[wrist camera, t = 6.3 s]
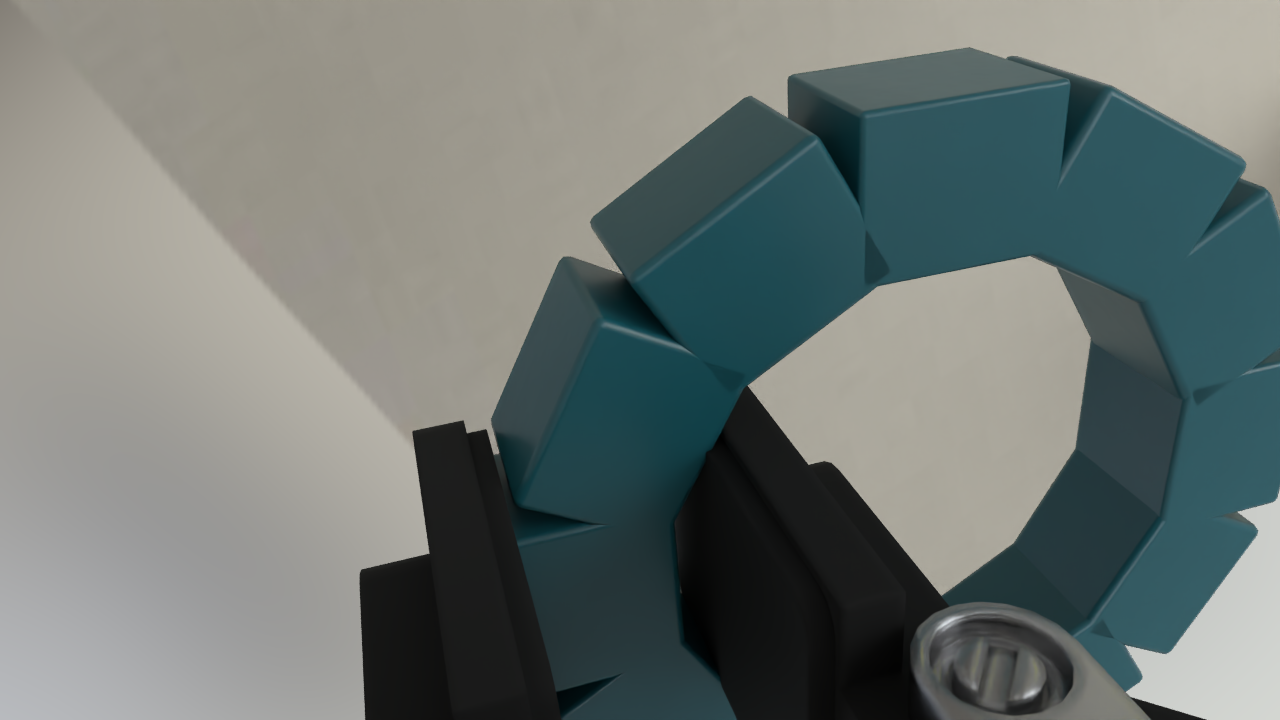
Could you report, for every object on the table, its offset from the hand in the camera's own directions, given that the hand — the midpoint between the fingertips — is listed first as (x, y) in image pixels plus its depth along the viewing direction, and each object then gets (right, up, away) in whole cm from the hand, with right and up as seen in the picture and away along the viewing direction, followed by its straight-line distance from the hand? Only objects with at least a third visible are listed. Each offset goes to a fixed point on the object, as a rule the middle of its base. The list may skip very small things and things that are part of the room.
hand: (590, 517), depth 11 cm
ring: (+3, +1, +1) cm, 3 cm away
